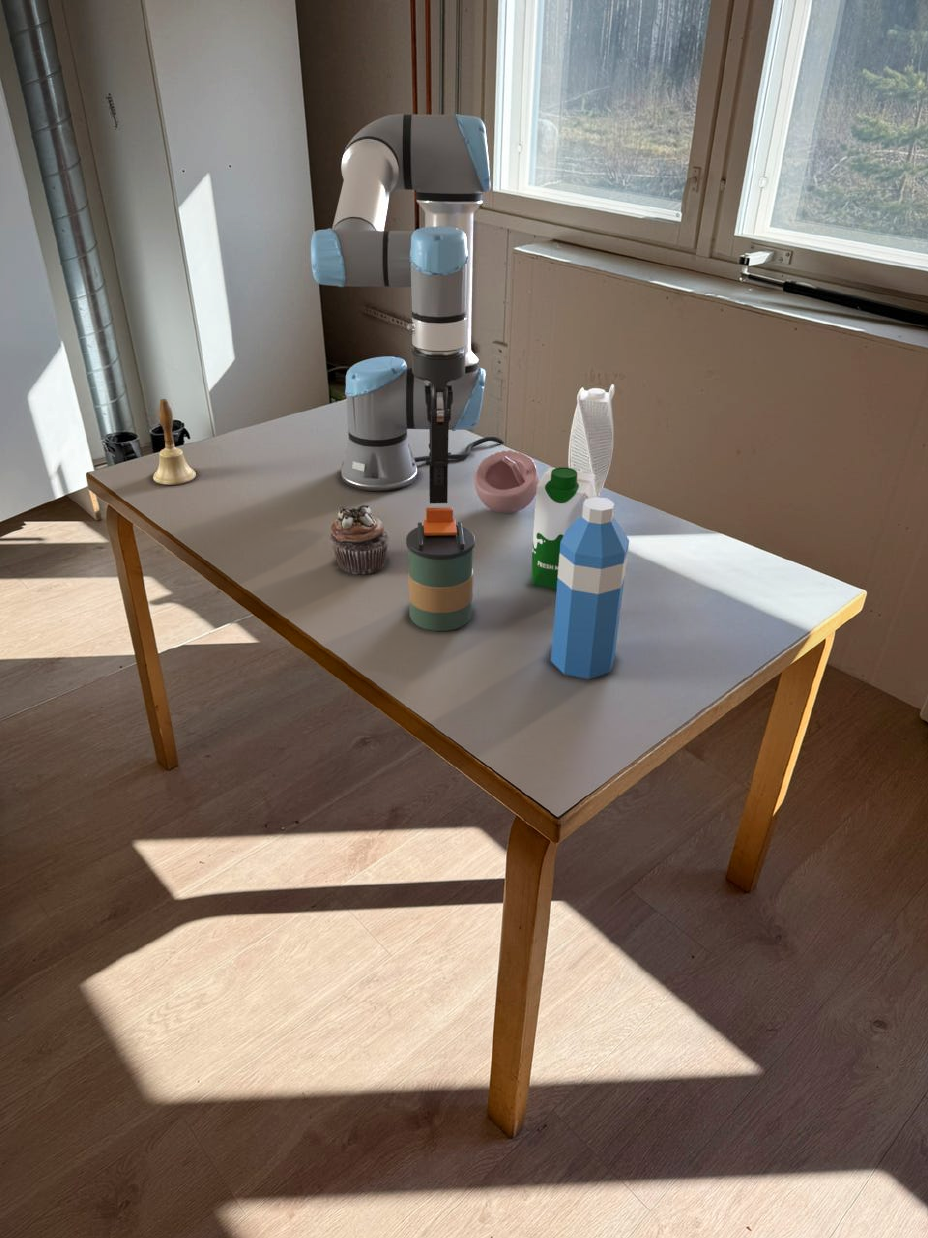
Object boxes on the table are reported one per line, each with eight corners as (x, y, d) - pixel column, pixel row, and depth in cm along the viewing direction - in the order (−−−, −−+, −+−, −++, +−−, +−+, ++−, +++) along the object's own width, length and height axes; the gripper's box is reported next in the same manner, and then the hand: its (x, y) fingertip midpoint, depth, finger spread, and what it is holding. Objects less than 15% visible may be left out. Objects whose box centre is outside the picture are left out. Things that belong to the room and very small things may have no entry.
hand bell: (181, 465, 190) (169, 389, 181) (204, 476, 185) (192, 400, 177) (145, 476, 185) (131, 399, 176) (167, 489, 180) (153, 410, 172)
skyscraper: (613, 536, 166) (631, 385, 151) (580, 546, 163) (595, 392, 148) (586, 519, 172) (601, 371, 157) (554, 528, 169) (565, 378, 154)
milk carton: (525, 586, 151) (532, 474, 140) (539, 561, 158) (547, 452, 147) (577, 596, 149) (589, 482, 138) (589, 570, 156) (601, 460, 145)
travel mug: (408, 598, 147) (406, 528, 141) (469, 597, 148) (471, 527, 141) (408, 632, 139) (407, 560, 132) (474, 631, 140) (476, 558, 133)
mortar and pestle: (464, 517, 172) (465, 459, 166) (487, 492, 181) (488, 437, 175) (525, 529, 168) (528, 470, 162) (545, 503, 178) (549, 447, 171)
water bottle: (545, 643, 137) (557, 489, 124) (607, 640, 138) (625, 487, 124) (556, 680, 129) (570, 520, 116) (621, 677, 130) (642, 518, 117)
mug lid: (405, 528, 141) (405, 518, 140) (472, 527, 141) (472, 517, 140) (406, 560, 132) (406, 550, 131) (477, 559, 133) (477, 549, 132)
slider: (423, 522, 140) (423, 507, 138) (455, 521, 140) (455, 506, 139) (424, 535, 136) (424, 520, 135) (456, 535, 136) (456, 520, 135)
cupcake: (345, 582, 151) (342, 527, 146) (325, 556, 158) (321, 503, 153) (399, 569, 155) (397, 515, 150) (376, 545, 162) (374, 493, 157)
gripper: (411, 334, 134) (413, 483, 147) (412, 361, 123) (414, 520, 136) (462, 334, 135) (460, 483, 147) (468, 361, 124) (465, 519, 136)
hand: (438, 501), depth 142 cm, fingers closed
